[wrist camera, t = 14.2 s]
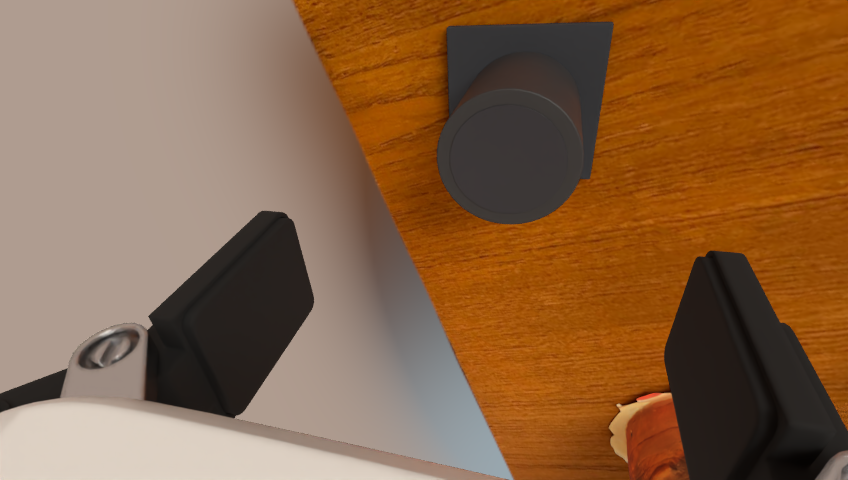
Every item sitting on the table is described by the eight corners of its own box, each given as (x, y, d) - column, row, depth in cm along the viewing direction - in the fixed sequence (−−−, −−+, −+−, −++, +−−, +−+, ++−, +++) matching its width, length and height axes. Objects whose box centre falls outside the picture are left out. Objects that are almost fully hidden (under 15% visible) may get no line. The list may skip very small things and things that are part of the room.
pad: (448, 25, 23) (446, 27, 23) (612, 21, 21) (613, 23, 21) (452, 167, 28) (450, 171, 27) (589, 175, 26) (589, 179, 25)
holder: (465, 51, 23) (432, 88, 18) (587, 50, 22) (594, 89, 16) (466, 160, 27) (439, 220, 21) (573, 165, 25) (574, 231, 19)
